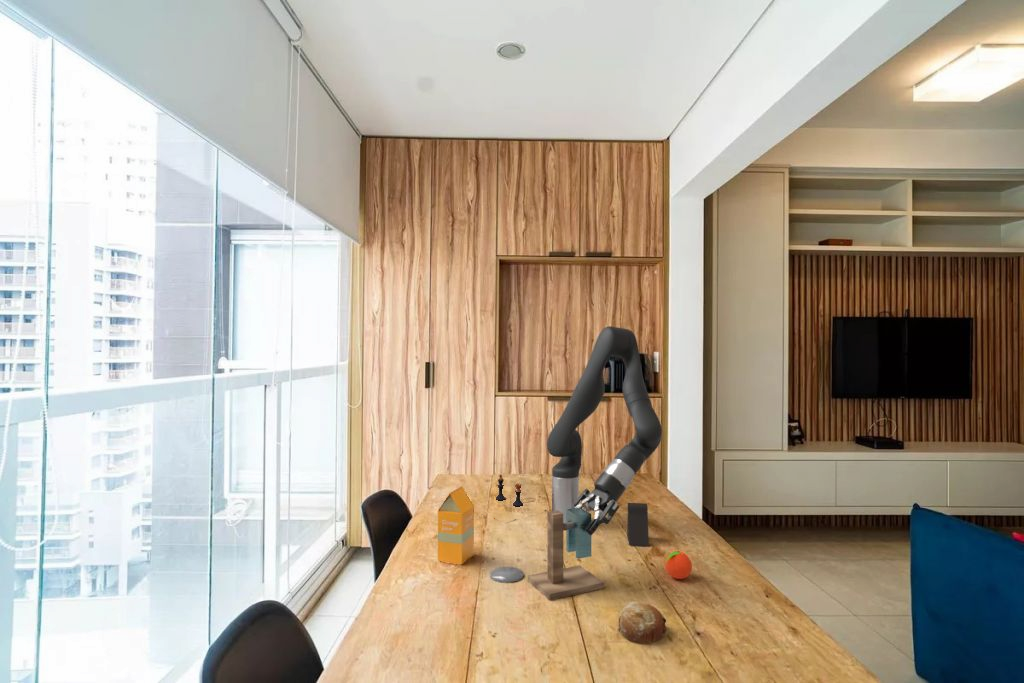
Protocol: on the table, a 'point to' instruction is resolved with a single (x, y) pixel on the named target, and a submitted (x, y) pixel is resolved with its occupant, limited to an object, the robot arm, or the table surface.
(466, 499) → the orange juice
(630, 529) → the phone stand
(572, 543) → the c link
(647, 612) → the bread roll
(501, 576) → the coaster
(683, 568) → the clementine
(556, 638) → the table surface
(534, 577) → the stand
